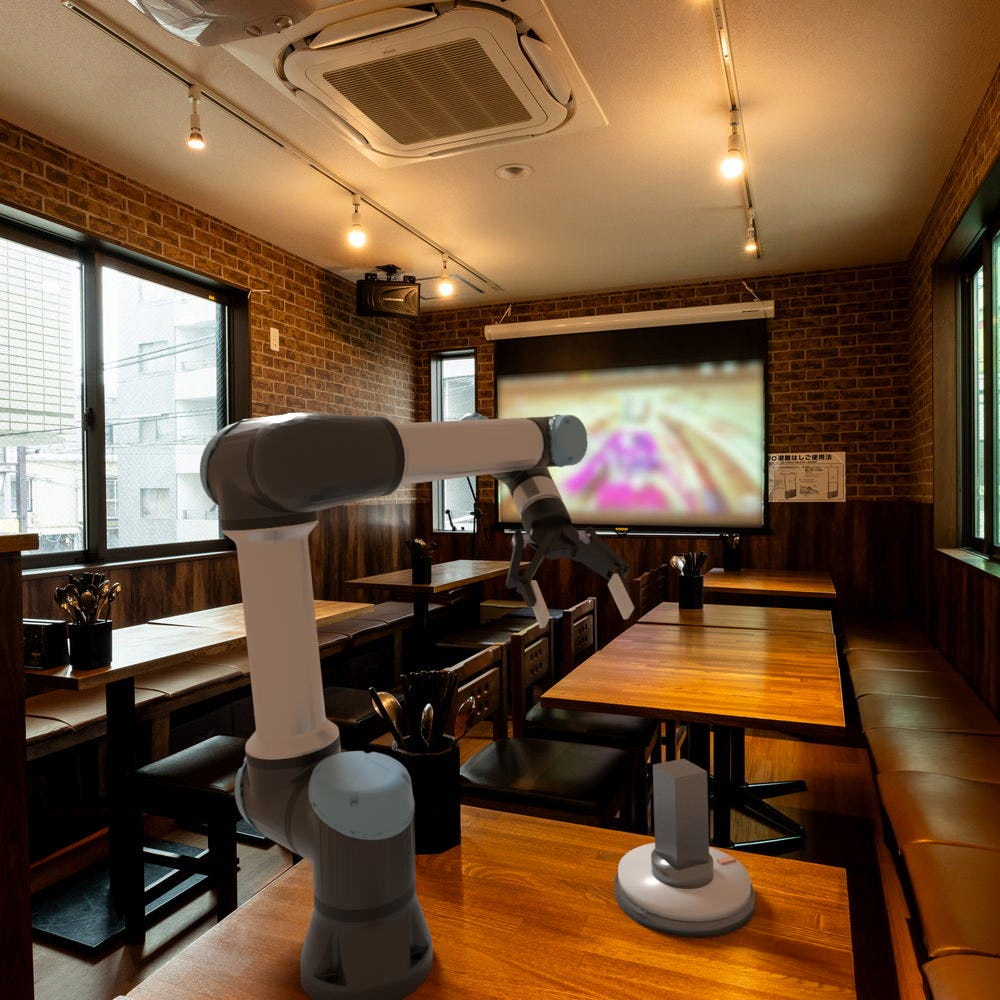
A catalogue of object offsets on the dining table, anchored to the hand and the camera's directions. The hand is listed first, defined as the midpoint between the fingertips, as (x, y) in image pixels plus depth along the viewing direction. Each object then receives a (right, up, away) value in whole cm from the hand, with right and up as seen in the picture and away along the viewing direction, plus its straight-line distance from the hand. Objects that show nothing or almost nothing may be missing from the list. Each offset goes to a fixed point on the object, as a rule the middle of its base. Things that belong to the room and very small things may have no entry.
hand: (588, 618), depth 107 cm
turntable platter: (+12, -34, -9) cm, 37 cm away
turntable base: (+12, -36, -8) cm, 38 cm away
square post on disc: (+11, -32, -9) cm, 35 cm away
